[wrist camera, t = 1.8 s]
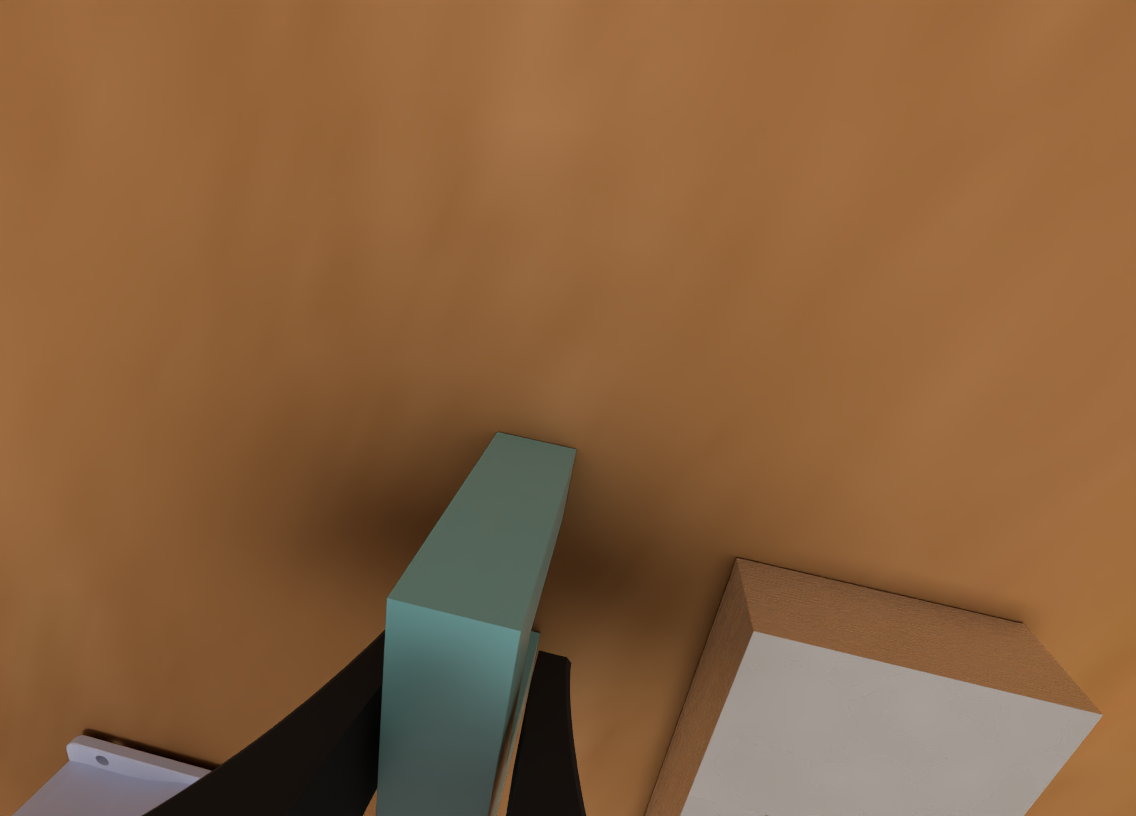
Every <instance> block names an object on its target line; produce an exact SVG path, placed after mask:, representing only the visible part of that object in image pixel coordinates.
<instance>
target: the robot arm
mask: <svg viewBox="0 0 1136 816" xmlns="http://www.w3.org/2000/svg"><path fill="white" fill-rule="evenodd" d="M384 647H385V630H384V631H383V632H382V633H381V634H380V635H379V636H378V637H377V638H376V639H375V640H374V641H373V642H372V643H371V644H370V645H369V646H368V647H367V648H366V649H364V650H363V651H362V652H361V653H360V654H359V655H358V656H357V657H356V658H355V659H354V660H353V661H352V662H350V663H349V664H348V665H347V666H346V667H345V668H344V669H343V670H341V671H340V672H339V673H338V674H337V675H336V676H335V677H333V678H332V679H331V680H330V681H329V682H328V683H327V684H325V685H324V686H323V687H322V688H321V689H320V690H319V691H317V692H316V693H315V694H314V695H313V696H311V697H310V698H309V699H308V700H306V701H305V702H304V703H303V704H301V705H300V706H299V707H298V708H296V709H295V710H294V711H293V712H291V713H290V714H289V715H288V716H286V717H285V718H284V719H283V720H281V721H280V722H279V723H278V724H276V725H275V726H274V727H273V728H271V729H270V730H269V731H267V732H266V733H265V734H263V735H262V736H261V737H259V738H258V739H257V740H255V741H254V742H253V743H251V744H250V745H248V746H247V747H246V748H244V749H243V750H242V751H240V752H239V753H237V754H236V755H234V756H233V757H232V758H230V759H229V760H227V761H226V762H224V763H223V764H222V765H220V766H219V767H217V768H216V769H214V770H213V771H211V770H208V769H204V768H200V767H197V766H193V765H190V764H186V763H183V762H179V761H175V760H172V759H168V758H165V757H161V756H157V755H154V754H150V753H147V752H143V751H140V750H136V749H132V748H129V747H125V746H122V745H118V744H114V743H111V742H107V741H104V740H100V739H97V738H93V737H89V736H86V735H79V736H76V737H75V738H74V739H73V740H72V741H71V742H70V743H69V744H68V745H67V753H68V757H69V760H70V761H68V762H67V763H66V764H65V765H64V766H63V767H62V768H61V769H60V770H59V771H58V772H57V773H56V774H55V775H54V776H53V777H52V778H51V779H50V780H49V781H48V782H47V783H45V784H44V785H43V786H42V787H41V788H40V789H39V790H38V791H37V792H36V793H35V794H34V795H33V796H32V797H31V798H30V799H29V800H28V801H27V802H26V803H25V804H24V805H23V806H22V807H21V808H20V809H19V810H17V811H16V812H15V813H14V814H13V815H12V816H363V814H364V812H365V810H366V808H367V806H368V804H369V802H370V801H371V799H372V797H373V795H374V793H375V791H376V789H377V784H378V764H379V745H380V725H381V706H382V686H383V667H384ZM570 669H571V662H570V661H569V659H568V658H567V657H563V656H559V655H555V654H551V653H547V652H543V651H539V653H538V657H537V660H536V664H535V668H534V671H533V675H532V679H531V683H530V688H529V693H528V698H527V703H526V708H525V713H524V718H523V723H522V729H521V734H520V739H519V744H518V749H517V754H516V759H515V764H514V769H513V775H512V782H511V788H510V794H509V801H508V807H507V813H506V816H586V813H585V808H584V802H583V797H582V792H581V786H580V780H579V774H578V768H577V761H576V753H575V746H574V739H573V730H572V719H571V705H570Z"/></svg>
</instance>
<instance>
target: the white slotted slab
mask: <svg viewBox="0 0 1136 816" xmlns="http://www.w3.org/2000/svg"><path fill="white" fill-rule="evenodd" d="M1102 716H1103V714H1102V713H1101V712H1100V711H1099V710H1098V709H1097V707H1096V706H1095V705H1094V704H1093V703H1092V702H1091V701H1090V699H1089V698H1088V697H1087V696H1086V695H1085V694H1084V692H1083V691H1082V690H1081V689H1080V688H1079V687H1078V686H1077V684H1076V683H1075V682H1074V681H1073V680H1072V679H1071V677H1070V676H1069V675H1068V674H1067V673H1066V672H1065V671H1064V669H1063V668H1062V667H1061V666H1060V665H1059V664H1058V663H1057V661H1056V660H1055V659H1054V658H1053V657H1052V656H1051V654H1050V653H1049V652H1048V651H1047V650H1046V649H1045V648H1044V646H1043V645H1042V644H1041V643H1040V642H1039V641H1038V639H1037V638H1036V637H1035V636H1034V635H1033V634H1032V633H1031V631H1030V630H1029V629H1028V628H1027V627H1026V626H1025V624H1022V623H1017V622H1013V621H1009V620H1004V619H1000V618H996V617H991V616H987V615H983V614H978V613H974V612H970V611H965V610H961V609H957V608H952V607H948V606H944V605H939V604H935V603H931V602H926V601H922V600H918V599H913V598H909V597H905V596H900V595H896V594H892V593H887V592H883V591H879V590H874V589H870V588H866V587H861V586H857V585H853V584H848V583H844V582H840V581H835V580H831V579H827V578H822V577H818V576H814V575H809V574H805V573H801V572H796V571H792V570H788V569H783V568H779V567H775V566H770V565H766V564H762V563H757V562H753V561H749V560H744V559H740V558H736V561H735V564H734V567H733V570H732V572H731V575H730V578H729V581H728V584H727V586H726V589H725V592H724V595H723V597H722V600H721V603H720V606H719V609H718V611H717V614H716V617H715V620H714V623H713V625H712V628H711V631H710V634H709V637H708V639H707V642H706V645H705V648H704V651H703V653H702V656H701V659H700V662H699V665H698V667H697V670H696V673H695V676H694V679H693V681H692V684H691V687H690V690H689V693H688V695H687V698H686V701H685V704H684V707H683V709H682V712H681V715H680V718H679V721H678V723H677V726H676V729H675V732H674V735H673V737H672V740H671V743H670V746H669V749H668V751H667V754H666V757H665V760H664V763H663V765H662V768H661V771H660V774H659V777H658V779H657V782H656V785H655V788H654V791H653V793H652V796H651V799H650V802H649V805H648V807H647V810H646V813H645V816H1024V815H1025V813H1026V812H1027V811H1028V810H1029V808H1030V807H1031V806H1032V804H1033V803H1034V802H1035V801H1036V799H1037V798H1038V797H1039V796H1040V794H1041V793H1042V792H1043V791H1044V789H1045V788H1046V787H1047V785H1048V784H1049V783H1050V782H1051V780H1052V779H1053V778H1054V777H1055V775H1056V774H1057V773H1058V772H1059V770H1060V769H1061V768H1062V766H1063V765H1064V764H1065V763H1066V761H1067V760H1068V759H1069V758H1070V756H1071V755H1072V754H1073V753H1074V751H1075V750H1076V749H1077V747H1078V746H1079V745H1080V744H1081V742H1082V741H1083V740H1084V739H1085V737H1086V736H1087V735H1088V734H1089V732H1090V731H1091V730H1092V728H1093V727H1094V726H1095V725H1096V723H1097V722H1098V721H1099V720H1100V718H1101V717H1102Z"/></svg>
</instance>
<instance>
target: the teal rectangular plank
mask: <svg viewBox="0 0 1136 816" xmlns="http://www.w3.org/2000/svg"><path fill="white" fill-rule="evenodd" d="M575 454H576V449H573V448H568V447H564V446H559V445H555V444H550V443H546V442H541V441H537V440H532V439H528V438H523V437H518V436H514V435H509V434H505V433H500V432H497V433H496V435H495V436H494V438H493V439H492V441H491V442H490V444H489V445H488V447H487V448H486V450H485V451H484V453H483V454H482V456H481V457H480V459H479V460H478V462H477V463H476V465H475V466H474V468H473V469H472V471H471V472H470V474H469V475H468V477H467V478H466V480H465V481H464V483H463V485H462V486H461V488H460V489H459V491H458V492H457V494H456V495H455V497H454V498H453V500H452V501H451V503H450V504H449V506H448V507H447V509H446V510H445V512H444V513H443V515H442V516H441V518H440V519H439V521H438V522H437V524H436V525H435V527H434V528H433V530H432V531H431V533H430V534H429V536H428V537H427V539H426V540H425V542H424V543H423V545H422V546H421V548H420V549H419V551H418V552H417V554H416V555H415V557H414V558H413V560H412V561H411V563H410V564H409V566H408V567H407V569H406V570H405V572H404V573H403V575H402V576H401V578H400V579H399V581H398V582H397V584H396V585H395V587H394V588H393V590H392V591H391V593H390V594H389V596H388V597H387V608H386V627H385V647H384V667H383V686H382V706H381V725H380V745H379V764H378V784H377V804H376V816H497V813H498V809H499V805H500V801H501V797H502V793H503V789H504V785H505V781H506V777H507V773H508V769H509V765H510V761H511V757H512V753H513V750H514V746H515V742H516V738H517V734H518V730H519V726H520V722H521V718H522V714H523V710H524V706H525V702H526V698H527V694H528V690H529V686H530V682H531V677H532V672H533V667H534V662H535V657H536V652H537V647H538V642H539V637H540V633H537V632H533V631H531V629H532V626H533V622H534V618H535V615H536V611H537V608H538V604H539V601H540V597H541V594H542V590H543V587H544V583H545V580H546V576H547V572H548V569H549V565H550V562H551V558H552V555H553V551H554V548H555V544H556V541H557V537H558V533H559V530H560V526H561V523H562V519H563V515H564V510H565V505H566V500H567V495H568V490H569V485H570V480H571V475H572V470H573V464H574V459H575Z"/></svg>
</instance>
